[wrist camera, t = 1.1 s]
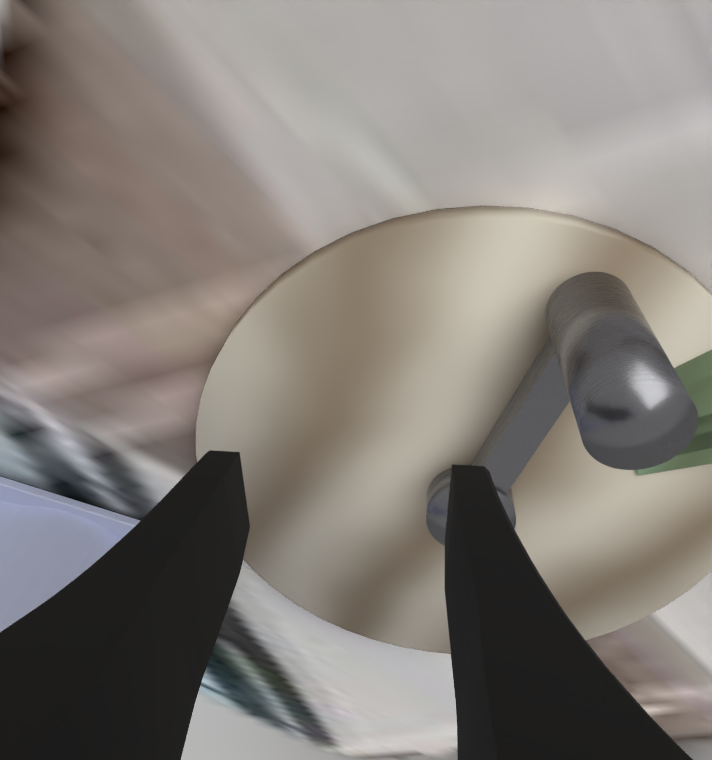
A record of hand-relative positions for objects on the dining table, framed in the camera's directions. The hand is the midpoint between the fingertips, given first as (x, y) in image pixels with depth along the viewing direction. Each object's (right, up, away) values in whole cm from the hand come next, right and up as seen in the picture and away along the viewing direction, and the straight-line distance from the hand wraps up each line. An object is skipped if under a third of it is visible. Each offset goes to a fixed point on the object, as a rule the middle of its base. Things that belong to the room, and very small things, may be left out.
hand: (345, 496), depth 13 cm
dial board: (+4, -1, +11) cm, 12 cm away
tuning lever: (+5, +1, +8) cm, 10 cm away
